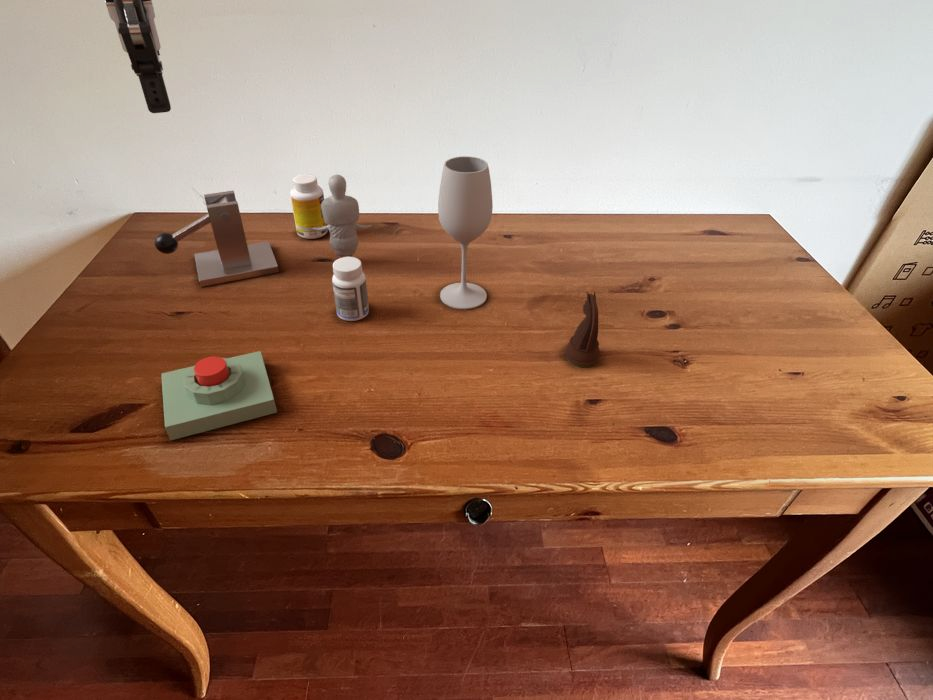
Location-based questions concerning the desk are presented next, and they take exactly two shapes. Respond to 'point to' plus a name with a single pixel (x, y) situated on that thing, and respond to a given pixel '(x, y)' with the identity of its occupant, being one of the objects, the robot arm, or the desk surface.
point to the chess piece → (585, 337)
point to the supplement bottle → (307, 206)
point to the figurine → (341, 218)
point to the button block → (216, 397)
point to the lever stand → (231, 246)
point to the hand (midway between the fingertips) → (160, 110)
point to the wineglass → (465, 219)
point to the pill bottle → (350, 289)
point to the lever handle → (181, 233)
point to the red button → (211, 371)
